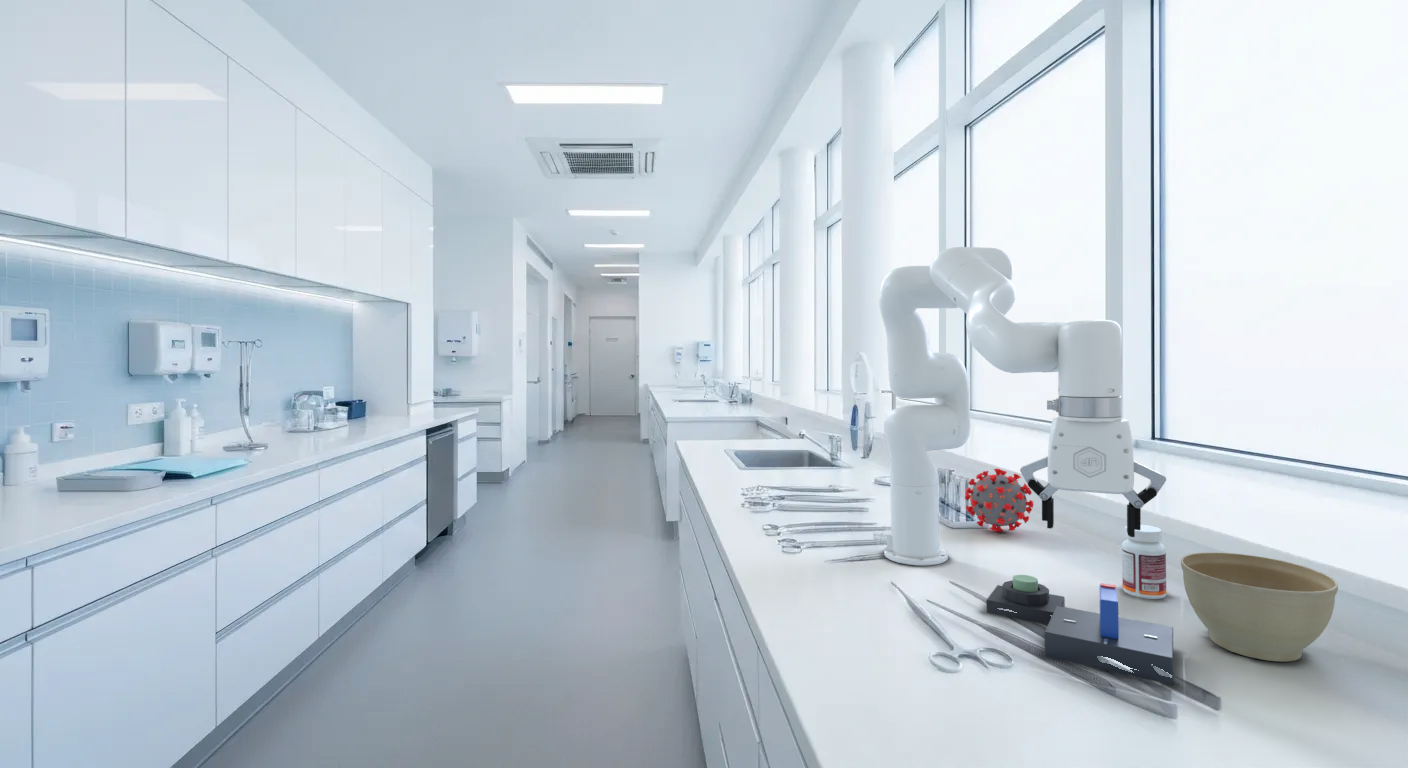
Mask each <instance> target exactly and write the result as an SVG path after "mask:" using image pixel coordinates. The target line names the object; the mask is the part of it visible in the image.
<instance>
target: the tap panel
mask: <svg viewBox="0 0 1408 768" xmlns="http://www.w3.org/2000/svg"><path fill="white" fill-rule="evenodd" d="M1118 625H1119V639H1114V638H1108V637H1102V636H1101V633H1100V612H1093V611H1087V610H1082V609H1077V608H1071V607H1066V606H1065V607H1061V606H1056V609H1055V611H1054V613H1053V615H1052V617H1051V619H1050V622H1049V624H1048V625H1047V626H1046V628H1045V629H1044V630H1045V631H1044V657H1046V658H1051V659H1055V660H1060V661H1064V662H1069V663H1073V664H1077V665H1082V666H1086V667H1091V668H1094V669H1098V670H1104V671H1108V672H1112V673H1116V674H1121V675H1126V676H1130V677H1135V678H1138V679H1144V680H1146V681H1147V680H1148V681H1151V682H1157V683H1160V684H1166V685H1169V686H1174V677H1173V678H1170V677H1165V676H1161V675H1159V674H1158V673H1157V672H1156V671H1155V670H1154V668H1153V666H1156V667H1158V668H1160V669H1163V670H1164V671H1165V672H1168V673H1169V674H1171V675H1173V676H1174V627H1173V626H1169V625H1164V624H1159V623H1153V622H1148V621H1142V620H1138V619H1132V618H1126V617H1121V616H1118ZM1097 656H1103V657H1108V658H1111V659H1114V660H1116V661H1118V662H1120V663H1122V664H1123V665H1126V666H1128V667H1130V668H1133V669H1130V670H1132V671H1133V672H1134V673H1133V672H1132V673H1131V672H1128V671H1125V670H1122V669H1119V668H1118V667H1115V666H1113V665H1111V664H1107V663H1102V662H1100V661H1099V660H1098V658H1097ZM1151 664H1153V666H1151ZM1134 669H1137V670H1134ZM1138 670H1139V671H1138Z"/></svg>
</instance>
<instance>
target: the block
mask: <svg viewBox="0 0 1408 768" xmlns="http://www.w3.org/2000/svg"><path fill="white" fill-rule="evenodd" d="M1065 598H1066V597H1065V596H1063V595H1058V594H1052V593H1050V589H1049V588H1048V587H1047V586H1046V585H1044V584H1042V583H1038V591H1036V592H1025V591H1019V590H1017V589H1014V588H1013V579H1012V580H1007V581H1004V582H1003V583H1002V585H1000V584H997V585H996V586H995V588H994V589H993V591H991V593H990V595H988V597H987V599H986V600H985V601H986V614H991V615H997V616H1000V617H1001V616H1002V617H1006V618H1007V617H1008V618H1012V619H1018V620H1022V621H1026V622H1027V621H1028V622H1032V623H1037V624H1042V625H1047V626H1048V624H1049V622H1050V619H1051V616H1050V615H1053V613H1054V611H1055V609H1056V606H1061V607H1066V605H1065V601H1066V599H1065ZM997 608H1003V609H1009V610H1012V611H1014V612H1017V613H1014V612H1009V611H1004V610H999V609H997Z"/></svg>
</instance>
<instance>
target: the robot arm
mask: <svg viewBox="0 0 1408 768" xmlns="http://www.w3.org/2000/svg"><path fill="white" fill-rule="evenodd" d="M1013 276H1014V265H1013V261H1012V259H1011V258H1010V256H1009V255H1008V254H1007V253H1006V252H1004V251H1003V250H1001V249H1000V248H995V247H980V246H979V247H978V246H977V247H976V246H956V247H955V246H953V247H949V248H947V249H944V250H941V251H940V252H939V253H938V254H936V255H935V257H934V258H933V259H932V260H931V263H930V265H905V266H900V267H897V268H894V269H892V270H890V271H889V272H887V273H886V275H885V276H884V278H883V279H882V281H881V284H880V287H879V293H878V304H879V305H878V306H879V311H880V315H881V318H882V322H883V326H884V329H885V335H886V351H887V352H886V353H887V369H888V381H889V386H890V390H891V393H892V394H893V395H894V396H895V397H897V398H900V399H906V400H907V399H908V400H913V399H914V400H915V399H916V400H917V399H918V400H919V399H934V402H935V404H913V405H911V404H910V405H902V406H899V407H896V408H894V409H892V410H890V412H888V413H887V415H886V416H885V418H884V421H883V422H884V423H883V432H884V437H885V438H884V439H885V443H886V447H887V453H888V463H889V464H888V465H889V483H890V485H889V486H890V488H889V489H890V531H888V532H883V531H877V530H875V531H874V532H873V533H872V534H873V535H872V537H873V540H874V542H875V543H877V544H884V545H885V548H884V549H883V554H884V555H883V556H884V557H885V558H886V559H888V560H890V561H892V562H895V563H898V564H902V565H910V566H937V565H940V564H943V563H945V562H947V561H948V559H949V553H948V552H947V550H945V549H943V548H941V546H940V503H939V502H940V499H939V496H940V495H939V472H938V469H937V466H936V464H935V463H934V462H933V459H931V457H930V456H929V453H928V452H931V451H940V450H953V449H958V448H961V447H963V446H964V445H965V444H966V443H967V441H968V439H969V437H970V434H971V410H970V409H971V407H970V390H969V389H970V388H969V378H968V372H967V368H966V366H965V364H964V362H963V361H962V359H961V358H960V357H959V356H957V355H956V354H953V353H951V352H932V350H931V342H930V339H931V337H930V331H929V328H928V326H927V323H925V320H924V319H923V318H922V316H921V315H920V314H919V313H918V312H917V311H916V310H917V309H958V308H959V309H961V311H963V312H964V313H965V314H966V318H965V327H966V332H967V333H966V334H967V336H968V339H969V342H970V344H971V345H972V348H974V350H975V351H977V353H979V354H980V355H981V356H982V358H984V359H985V360H986V361H987V362H988V363H989V364H990V365H992V366H993V367H994V368H996V369H997V370H1000V371H1002V372H1005V373H1011V374H1028V373H1030V374H1031V373H1058V377H1057V378H1058V380H1057V381H1058V384H1057V385H1058V397H1057V398H1055V399H1052V400H1050V399H1049V400H1047V401H1046V410H1048V411H1049V410H1052V411H1054V412H1055V413H1058V416H1057V417H1053V418H1052V420H1051V425H1050V429H1049V437H1048V448H1047V456H1044V457H1042V458H1040V459H1037V460H1035V461H1032V462H1029V463H1026V464H1024V465H1022V466H1021V467H1020V469H1019V472H1020V474H1021V475H1022V477H1023V479H1024V480H1025V482H1026V485H1027V486H1028V487H1029V488H1030V490H1031V491H1032V492H1033V493H1035V495H1037V496H1038V498H1039V499H1040V500H1041V521H1044V522H1046V528H1047V529H1050V530H1051V529H1054V524H1055V513H1054V509H1055V507H1054V506H1055V504H1054V502H1055V501H1054V500H1055V499H1054V497H1053V495H1054V494H1055V493H1056V492H1057V491H1058V490H1061V491H1071V492H1082V493H1083V492H1084V493H1094V494H1106V495H1107V494H1111V495H1123V497H1124V498H1125V499H1126V500H1127V501H1128V504H1126V525H1127V533H1128V536H1130V537H1135V530H1140V528H1141V525H1142V524H1141V523H1142V521H1141V519H1142V518H1141V515H1142V514H1141V511H1142V510H1141V509H1142V508H1143V507H1144V506H1145V505H1146V504H1147V503H1149V502H1150V501H1151V500H1153V499H1154V498H1155V497H1156V496H1157V495H1158V494H1159V492H1160V490H1161V489H1162V487H1163V486H1164V485H1165V483H1166V482H1167V477H1166V476H1165V475H1164V474H1163V473H1161V472H1159V471H1157V470H1155V469H1152V468H1150V467H1149V466H1146V465H1144V464H1142V463H1139V462H1138V461H1136V460H1134V446H1133V437H1132V431H1131V427H1130V426H1131V425H1130V423H1129V420H1128V419H1125V418H1123V417H1122V416H1123V415H1122V413H1123V412H1122V411H1123V405H1122V404H1123V401H1122V392H1123V391H1122V390H1123V389H1122V387H1123V386H1122V383H1123V382H1122V377H1123V375H1122V374H1123V373H1122V372H1123V371H1122V366H1123V363H1122V360H1123V358H1122V355H1123V351H1122V349H1123V348H1122V347H1123V344H1122V342H1123V335H1122V328H1121V325H1120V324H1119V323H1118V322H1117V321H1116V320H1115V321H1114V320H1111V319H1110V320H1109V319H1093V320H1091V319H1089V320H1088V319H1087V320H1075V321H1074V320H1073V321H1068V322H1061V321H1060V322H1059V321H1058V322H1057V321H1055V322H1053V321H1052V322H1048V321H1041V322H1040V321H1038V322H1036V321H1035V322H1033V321H1031V322H1015V321H1012V320H1010V319H1009V318H1008V317H1006V315H1007V314H1008V313H1009V311H1010V310H1011V309H1012V307H1013V305H1014V303H1015V300H1016V297H1017V290H1016V286H1015V284H1014V283H1013V282H1012V280H1013ZM1046 468H1047V481H1048V483H1047V484H1046V485H1042V483H1040V481H1038V480H1037V478H1036V477H1035V475H1034V473H1035V472H1037V471H1040V470H1043V469H1046ZM1135 474H1138V475H1139V476H1141V477H1144V478H1145V479H1148V480H1149V483H1148V485H1147V486H1146V487H1145V488H1144V489H1141V491H1139V492H1138V493H1137V492H1136V491H1135V489H1134V485H1135Z"/></svg>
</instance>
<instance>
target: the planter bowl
mask: <svg viewBox="0 0 1408 768" xmlns="http://www.w3.org/2000/svg"><path fill="white" fill-rule="evenodd" d="M1180 567H1181V571H1182V579H1183V586H1184V589H1185V593H1186V596H1187V599H1188V601H1189V603H1190V605H1191V607H1192V609H1193V611H1194V613H1195V614H1196V616H1197V618H1198V619H1199V620H1200V622H1201V623H1202V624H1203V625H1204V627H1205V628H1206V629H1207V633H1208V636H1209V639H1210V640H1211V641H1212V642H1213V643H1214V644H1216V645H1217V646H1218V647H1220V648H1223V649H1225V650H1227V651H1230V652H1232V653H1235V654H1238V655H1241V656H1245V657H1249V658H1253V659H1258V660H1262V661H1270V662H1281V663H1282V662H1283V663H1284V662H1294V661H1298V660H1300V659H1301V657H1302V655H1303V652H1304V649H1307V647H1309V646H1310V645H1312V644H1313V643H1314V642H1315V641H1316V640H1317V639H1318V638H1319V637H1320V636H1321V635H1322V634H1323V633H1324V631H1325V629H1326V628H1327V627H1328V625H1329V623H1330V621H1331V618H1332V615H1333V612H1334V608H1335V601H1336V595H1337V593H1338V591H1339V584H1338V582H1337V580H1336V579H1334V578H1333V577H1332V576H1330V575H1327V574H1326V573H1323V572H1322V571H1319V570H1316V569H1313V568H1310V567H1307V566H1304V565H1301V564H1297V563H1294V562H1290V561H1286V560H1282V559H1281V560H1280V559H1276V558H1271V557H1264V556H1258V555H1253V554H1243V553H1236V552H1235V553H1234V552H1219V551H1218V552H1217V551H1216V552H1215V551H1213V552H1209V551H1208V552H1194V553H1189V554H1185V555H1183V556H1182V557H1180Z"/></svg>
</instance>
